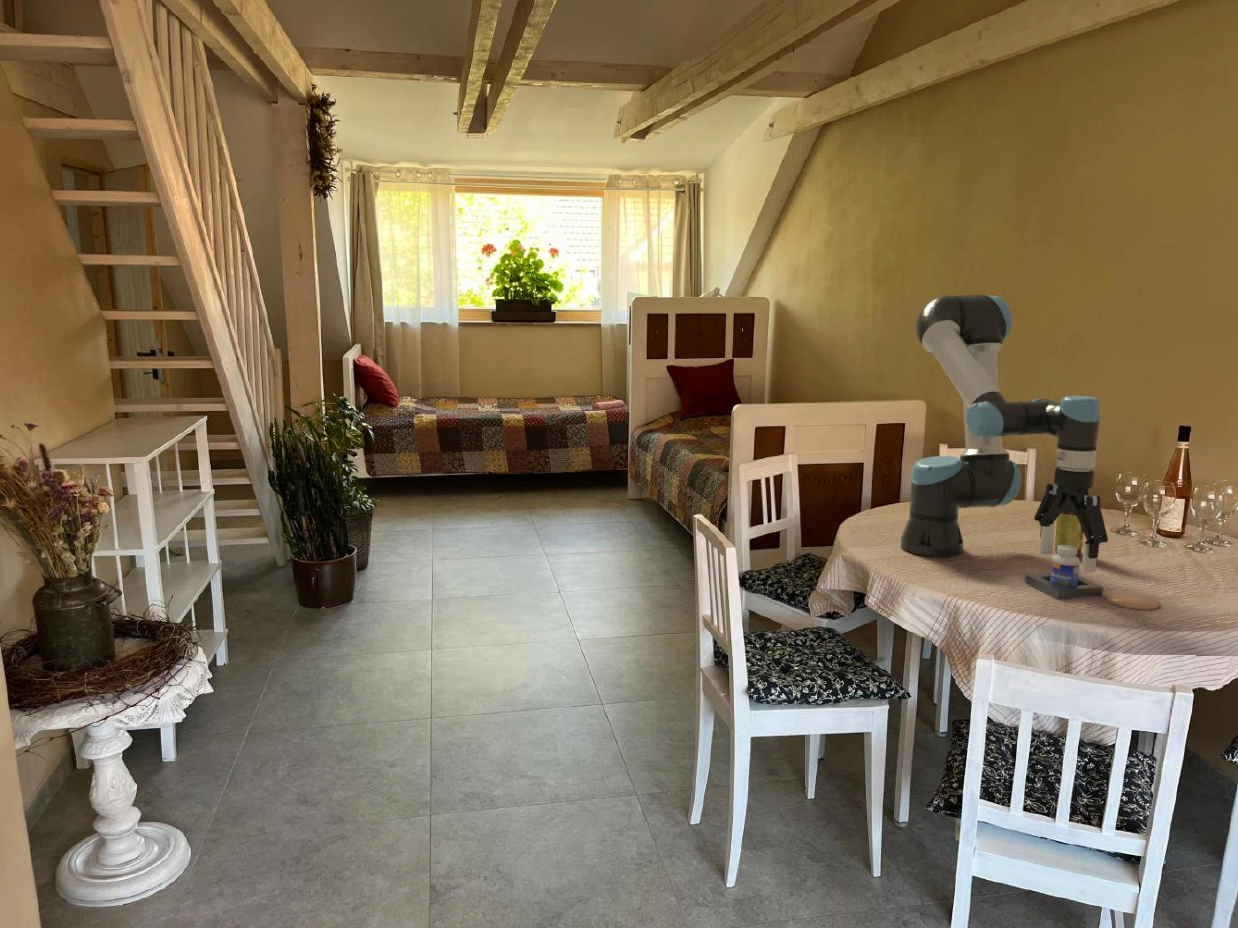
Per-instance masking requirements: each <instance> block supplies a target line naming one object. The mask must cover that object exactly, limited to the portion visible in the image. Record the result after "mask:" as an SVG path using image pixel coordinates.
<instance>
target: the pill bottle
mask: <svg viewBox="0 0 1238 928" xmlns="http://www.w3.org/2000/svg"><path fill="white" fill-rule="evenodd" d="M1075 555H1077V548H1076V547H1074V546H1070V545H1058V546H1057V553H1056V554H1054V555H1053V556H1052V560H1051V569H1050V573H1051V576H1050V582H1051V583H1053V584H1055V585H1057V586H1059V587H1066V586H1077V581H1078V576H1079V571H1080V563H1081V562H1080V559H1079V557H1078V555H1077V556H1075Z"/></svg>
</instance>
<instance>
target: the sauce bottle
mask: <svg viewBox="0 0 1238 928" xmlns="http://www.w3.org/2000/svg"><path fill="white" fill-rule="evenodd" d="M1082 510H1084V508H1083V509H1082ZM1084 536H1085V534H1084V532H1083V530H1082V527H1081V525H1080V523H1079V520H1078V518H1077V516H1076V515H1074V514H1073V512H1071V511H1069V510H1067V509H1064V510H1063V512H1062V513H1061V514H1060V515H1059V516H1058V517H1057V519H1056V525H1055V535H1054V538H1055V539H1054V547H1055V548H1054V551H1055V553H1056V554H1058V553H1057V546H1058V545H1070V546H1074V547H1076V548H1077V555H1075V556H1076V557H1078V556H1079V555H1081V553H1082V549H1083V548H1084Z"/></svg>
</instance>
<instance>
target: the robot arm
mask: <svg viewBox="0 0 1238 928" xmlns="http://www.w3.org/2000/svg"><path fill="white" fill-rule="evenodd" d="M1012 318H1013V316H1012V313H1011V309H1010V306H1009V305H1008V303H1007V302H1006V301H1005V300H1004V299H1003V298H1001V297H1000V296H999V295H997V296H996V295H987V294H968V295H964V294H963V295H949V294H948V295H941V296H936V297H935V298H933V299H931V300H930V301H928V302H927V303H925V305H924V306H923V307H922V308H921V310H920V311H919V313H918V315H917V318H916V323H915V329H916V331H915V332H916V336H917V338H918V341H919V342H920V345H921V346H922V347H923V349H924V350H925V351H927V352H928V353H932V354H933V356H934V357H935V359H936V360H937V362H938V364H939V365H940V366H941V368H942V369H943V372H945V374H946V376H947V377H948V379H949V380H950V382H951V384H952V385H953V387H954V388H955V389H956V391H957V393H958V394H959V396H960V397H961V398H962V401H963V402H962V403H963V420H964V437H965V449H964V450H963V452H961V453H960V455H959V457H956V456H952V455H944V456H942V455H937V456H936V455H935V456H930V457H924V458H922V459H918V461H916V462H915V463H914V464H913V466H912V472H911V477H910V482H911V483H910V499H909V500H910V501H909V516H908V517H909V518H908V520H907V523H906V525H905V527H904V530H903V533H902V535H901V538H900V548H901V547H902V548H903V550H904V551H906V552H908V551H911V552H913V553H912V554H914V553H916V554H915V555H919V554H921V555H920V556H926V557H936V558H945V557H946V558H948V557H955V556H958V555H962V553H963V551H964V540H963V536H962V533H961V528H960V525H959V510H960V509H966V508H967V509H970V508H987V507H988V508H996V507H999V506H1007V505H1009V504H1010V503H1012V502H1013V501H1014V500H1015V498H1016V497H1017V495H1018V494H1019V491H1020V488H1021V485H1022V474H1021V470H1020V468H1019V466H1018V464H1017V462H1015V461H1014V460H1011V459H1010V452H1009V451H1008V450H1006V449H1005V448H1004V446H1003V439H1002V438H1003V437H1006V436H1008V437H1009V436H1031V435H1033V436H1035V435H1046V436H1052V437H1057V446H1056V448H1057V450H1056V458H1055V459H1056V460H1055V465H1056V466H1057V467H1056V468H1055V470H1054V481H1053V482H1054V483H1050V484H1049V483H1048V484H1047V485H1046V489H1045V494H1044V496H1043V498H1042V500H1041V503H1040V504H1039V506H1038V508H1037V510H1036V513H1035V514H1034V518H1033V519H1034V520H1035V521H1036V522H1038V523H1039V525H1040V534H1039V536H1040V537H1039V538H1040V542H1039V543H1040V545H1039V555H1043V556H1044V555H1053V551H1054V541H1055V539H1054V538H1055V529H1056V525H1054V524H1055V521H1057V517H1058V516H1059V515H1060V514H1061V513H1062V512H1063V510H1064V509H1067V510H1069V511H1071V512H1073V514H1074V515H1076V516H1077V518H1078V520H1079V523H1080V525H1081V527H1082V530H1083V532H1084V536H1085V539H1086V541H1083V548H1082V549H1083V551H1082V561H1081V573H1083V574H1087V573H1088V574H1089V573H1096V565H1097V559H1098V557H1099V551H1100V550H1099V549H1100V544H1102V543H1108V541H1109V538H1108V534H1107V528H1106V526H1105V521H1104V517H1103V512H1102V509H1101V497H1100V496H1099V495H1090V494H1089V490H1090V489H1091V488H1092V487H1094V480H1095V479H1094V477H1095V471H1094V470H1093V469H1094V468H1095V467H1096V459H1097V456H1096V455H1097V447H1098V446H1097V445H1098V444H1097V443H1098V436H1099V435H1098V434H1099V425H1100V419H1101V413H1100V412H1101V411H1100V408H1101V407H1100V406H1101V403H1100V399H1098V398H1097V397H1094V396H1087V395H1066V396H1063V397H1062V398H1061V400H1060V402H1059V401H1055V400H1051V399H1050V398H1049V399H1048V398H1043V399H1042V398H1034V399H1033V398H1032V399H1031V400H1029V401H1007V399H1006V398H1005V397H1004V395H1003V394H1002V393H1001V392H1000V389H999V387H1000V386H999V369H998V355H997V354H998V352H999V350H1001V349H1002V348H1003V346H1004V343H1003V341H1004V340H1006V339H1007V338H1008V337H1009V335H1010V334H1011V329H1012V327H1013V326H1012V325H1013V319H1012ZM1083 508H1084V510H1082V509H1083ZM902 548H901V549H902ZM911 552H910V553H911Z"/></svg>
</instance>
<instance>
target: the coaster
mask: <svg viewBox="0 0 1238 928" xmlns="http://www.w3.org/2000/svg"><path fill="white" fill-rule="evenodd" d="M1105 600H1106V602H1107V603H1110V604H1112V605H1113V606H1116V607H1121V608H1124V609H1129V610H1135V611H1153V610H1156V609H1159V608H1160V600H1158V599H1157V598H1156V597H1153V596H1150V595H1147V594H1144V593H1141V592H1136V591H1127V590H1114V591H1109V592H1107V593H1106V594H1105Z"/></svg>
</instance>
